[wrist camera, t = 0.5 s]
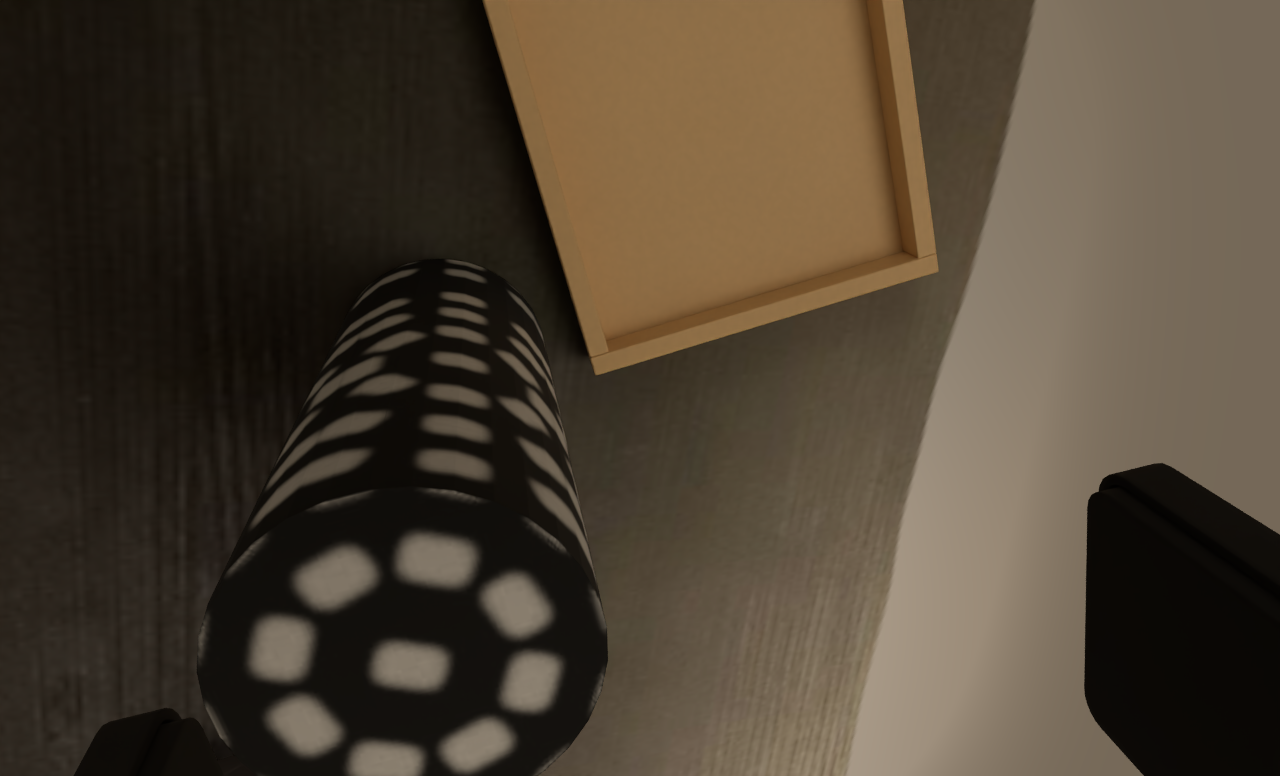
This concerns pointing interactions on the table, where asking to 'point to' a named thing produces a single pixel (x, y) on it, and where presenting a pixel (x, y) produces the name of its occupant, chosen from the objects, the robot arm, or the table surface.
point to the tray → (717, 159)
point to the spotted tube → (413, 554)
